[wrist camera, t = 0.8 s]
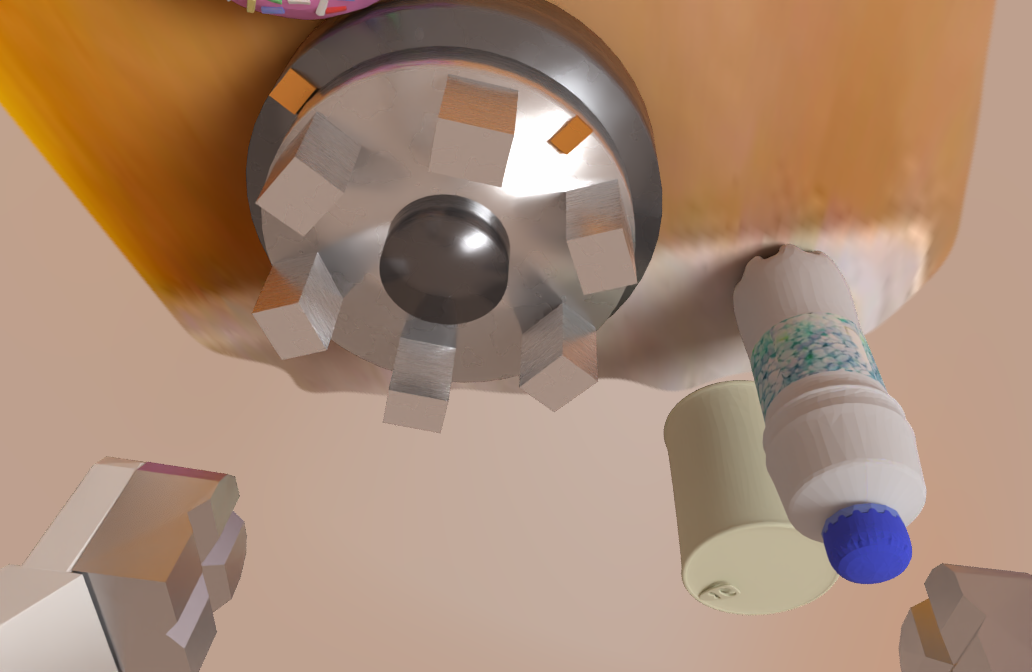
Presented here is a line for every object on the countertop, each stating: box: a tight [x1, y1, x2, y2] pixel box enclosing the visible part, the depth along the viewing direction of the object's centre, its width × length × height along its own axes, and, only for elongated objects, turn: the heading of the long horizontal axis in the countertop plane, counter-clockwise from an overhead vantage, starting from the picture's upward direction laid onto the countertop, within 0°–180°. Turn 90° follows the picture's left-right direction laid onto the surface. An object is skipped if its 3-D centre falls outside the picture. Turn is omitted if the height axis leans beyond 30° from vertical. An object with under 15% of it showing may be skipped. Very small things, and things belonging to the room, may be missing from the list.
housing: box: [246, 0, 662, 318], centre depth 45 cm, size 21×21×4 cm
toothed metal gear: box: [252, 46, 637, 433], centre depth 41 cm, size 18×18×6 cm
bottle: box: [733, 244, 926, 584], centre depth 43 cm, size 7×7×20 cm
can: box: [664, 380, 839, 615], centre depth 54 cm, size 9×9×12 cm
